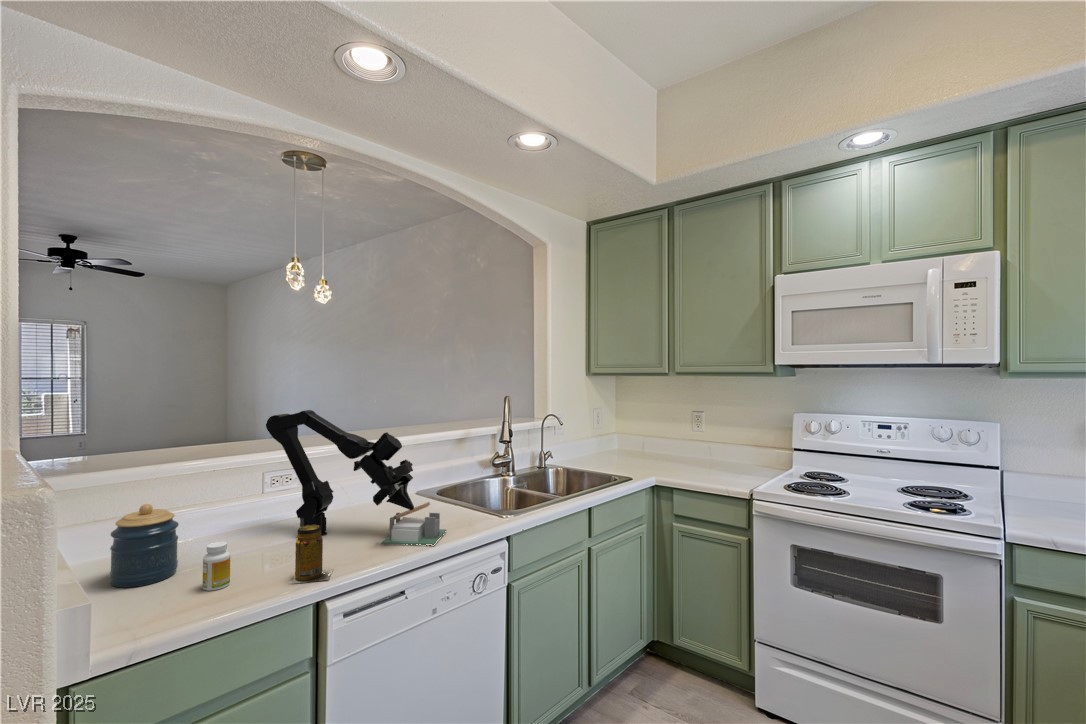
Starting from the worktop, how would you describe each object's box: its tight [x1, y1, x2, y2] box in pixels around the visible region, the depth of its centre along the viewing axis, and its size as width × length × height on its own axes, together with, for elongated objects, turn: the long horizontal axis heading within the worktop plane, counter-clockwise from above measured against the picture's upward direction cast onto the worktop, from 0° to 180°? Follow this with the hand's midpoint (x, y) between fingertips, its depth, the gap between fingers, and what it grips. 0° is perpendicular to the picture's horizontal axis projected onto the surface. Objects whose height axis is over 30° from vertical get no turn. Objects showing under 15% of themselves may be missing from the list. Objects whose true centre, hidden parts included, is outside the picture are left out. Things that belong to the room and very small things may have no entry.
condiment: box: [289, 525, 334, 585], centre depth 123 cm, size 7×8×12 cm
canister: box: [109, 503, 180, 588], centre depth 122 cm, size 13×13×18 cm
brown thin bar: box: [393, 501, 431, 521], centre depth 151 cm, size 1×3×12 cm
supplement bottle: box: [202, 541, 231, 592], centre depth 117 cm, size 5×5×10 cm
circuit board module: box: [381, 512, 447, 546], centre depth 151 cm, size 16×13×7 cm
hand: (412, 508), depth 151 cm, fingers closed, pressing on brown thin bar
